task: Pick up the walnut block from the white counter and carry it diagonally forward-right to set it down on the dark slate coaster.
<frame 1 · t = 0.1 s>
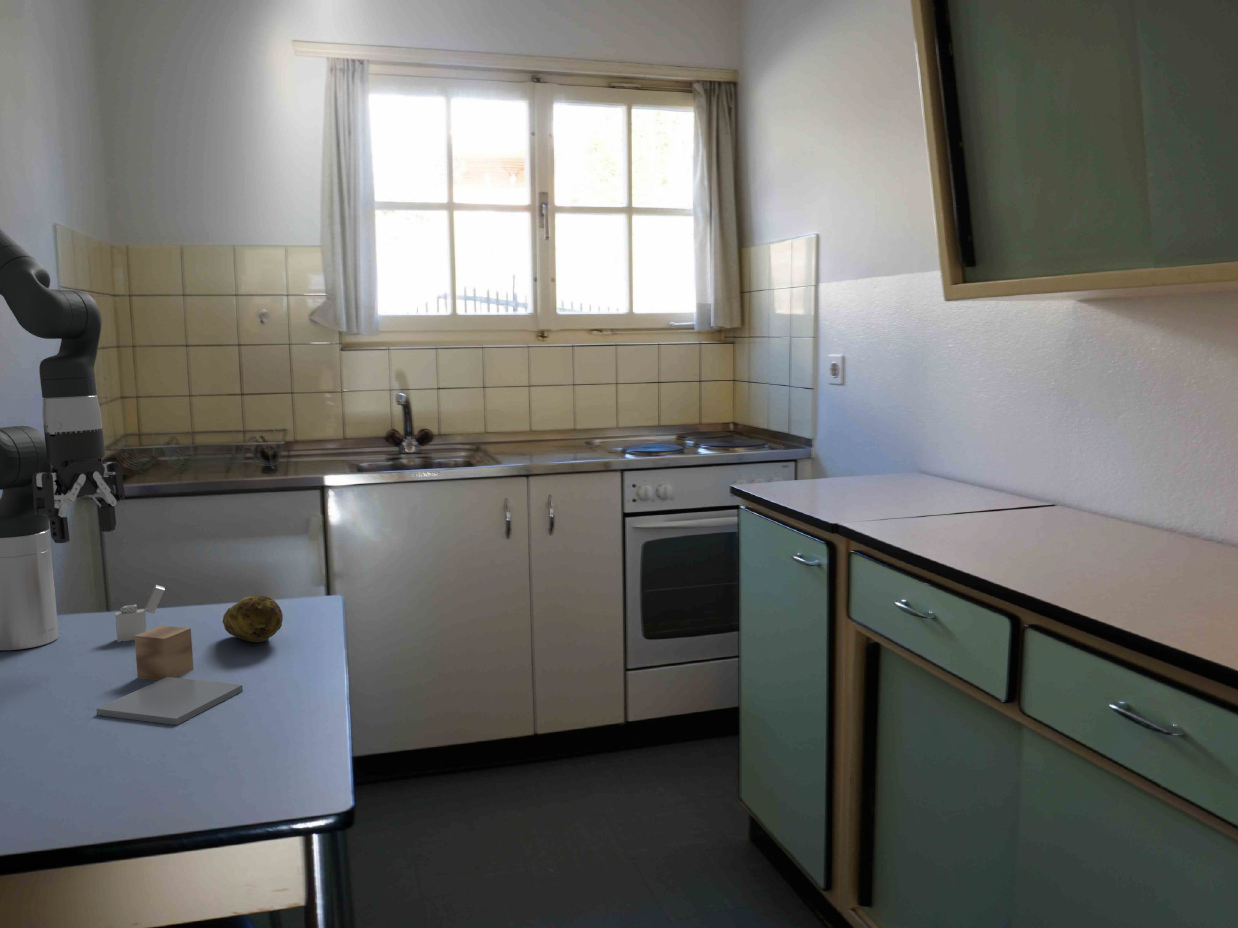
hand: (85, 536, 145), 17 cm above the table, tool pointing down, fingers open, 8 cm apart
coaster: (172, 702, 125), on the table
lighter: (142, 638, 153), on the table
block: (165, 673, 136), on the table
potato: (254, 644, 150), on the table
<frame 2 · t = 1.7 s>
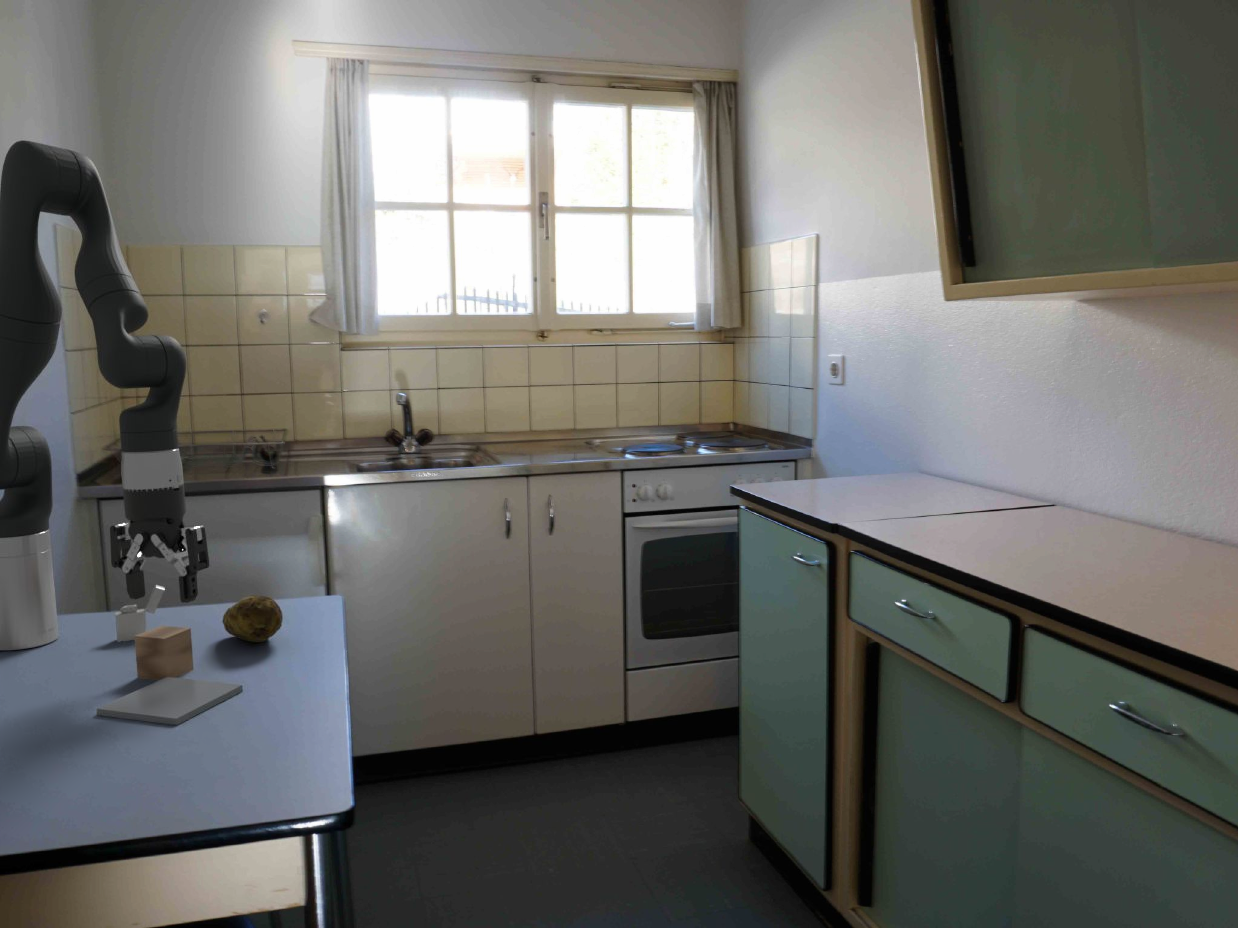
hand: (163, 599, 135), 10 cm above the table, tool pointing down, fingers open, 8 cm apart
nothing on the table moved.
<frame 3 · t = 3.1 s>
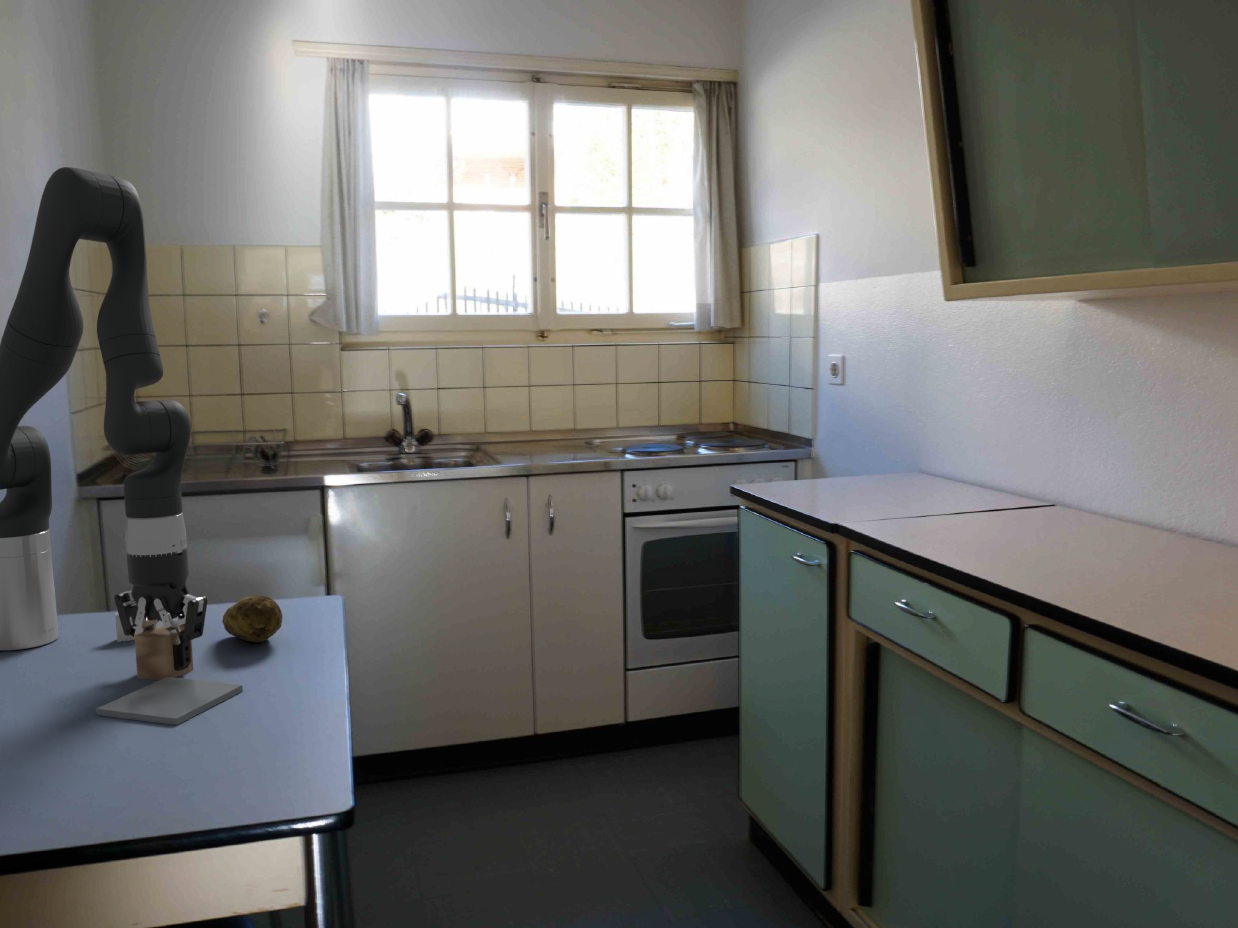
hand: (165, 666, 136), 1 cm above the table, tool pointing down, fingers closed on block, 5 cm apart
block: (165, 673, 136), on the table, touching gripper
everything else where it was.
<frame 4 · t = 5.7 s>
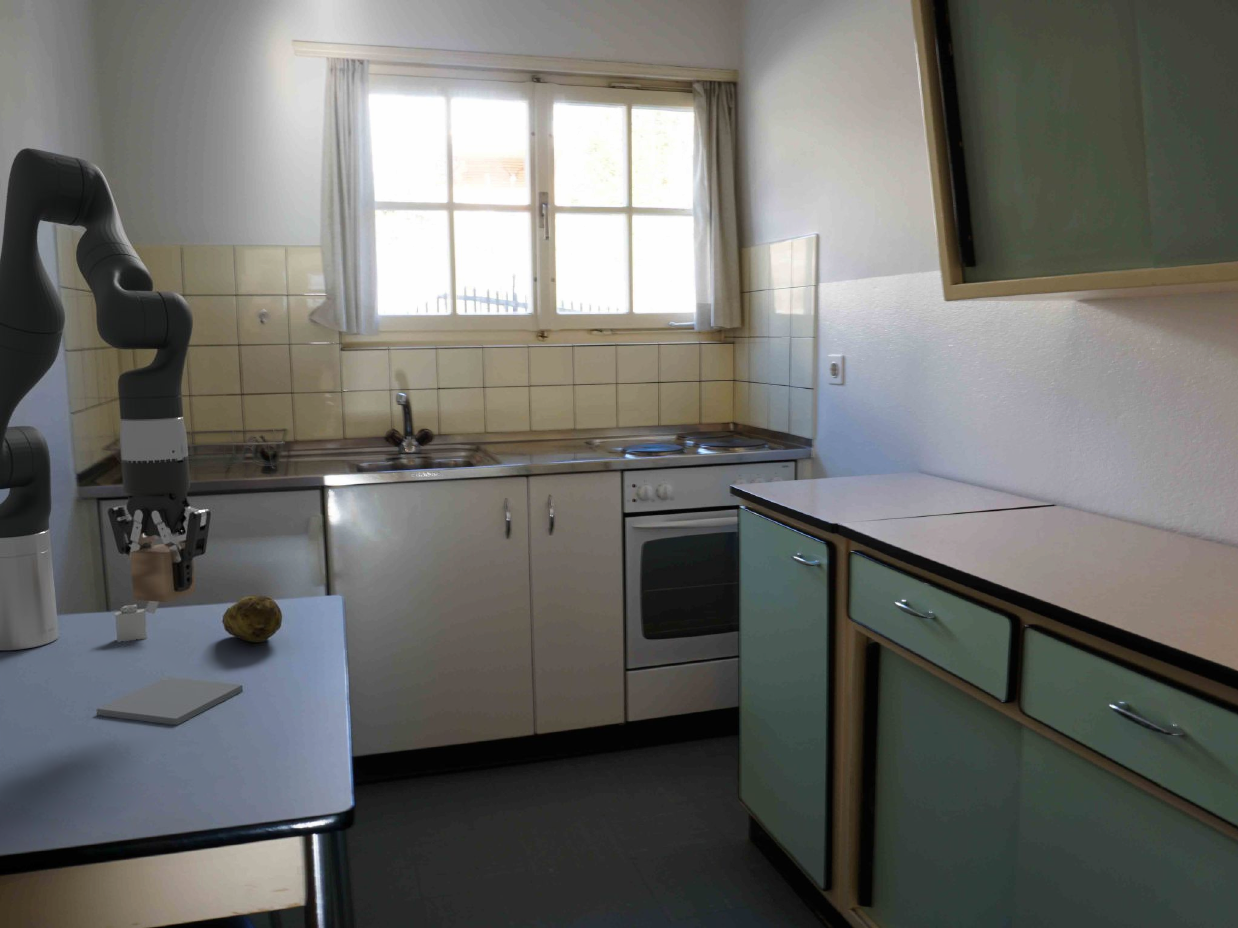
hand: (164, 588, 123), 15 cm above the table, tool pointing down, fingers closed on block, 5 cm apart
block: (164, 595, 123), point 14 cm above the table, touching gripper
everything else where it was.
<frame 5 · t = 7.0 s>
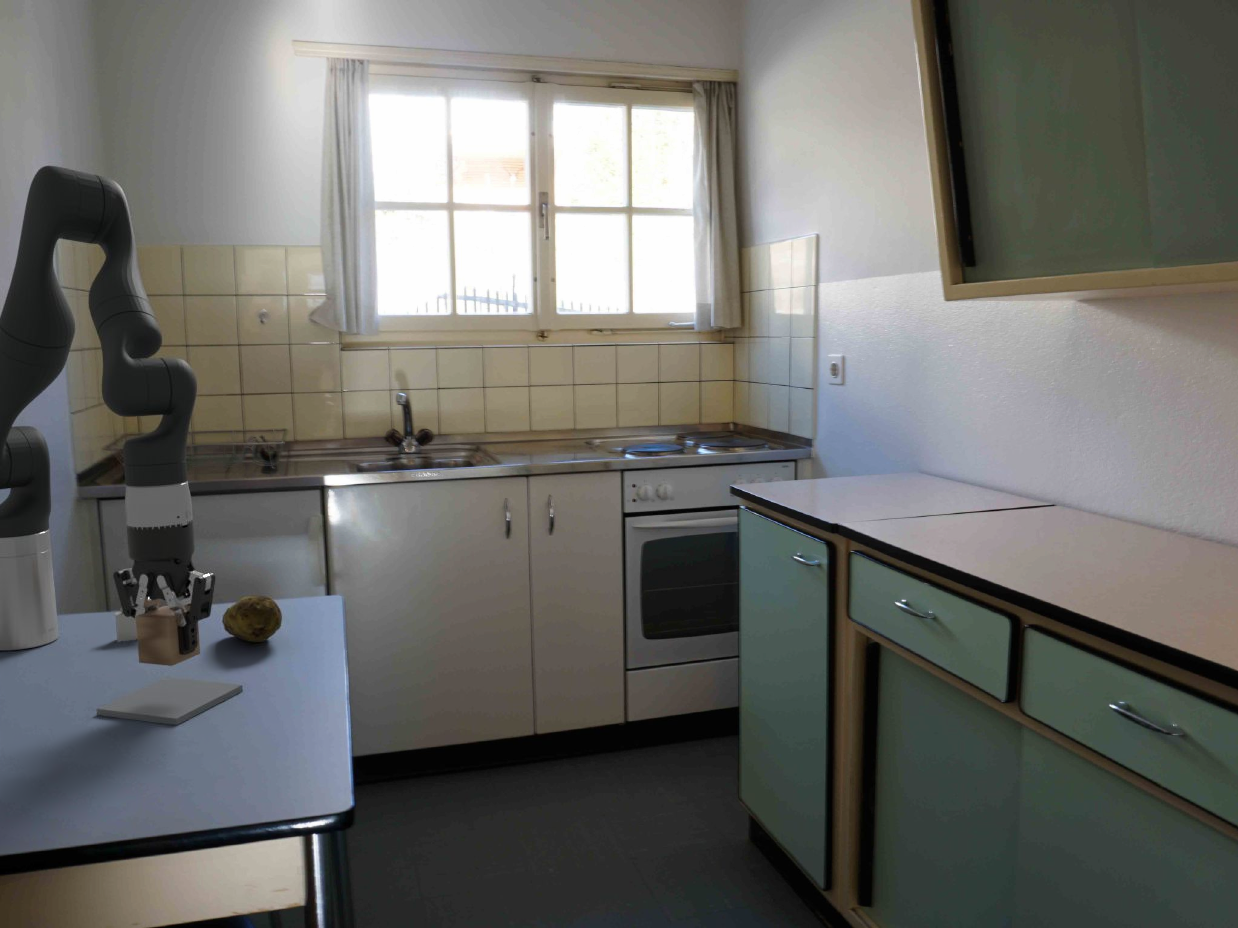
hand: (169, 650, 124), 7 cm above the table, tool pointing down, fingers closed on block, 5 cm apart
block: (170, 658, 124), point 6 cm above the table, touching gripper
everything else where it was.
when the fingers open (3 cm above the table, at t = 8.3 s): block stays where it is, resting on coaster.
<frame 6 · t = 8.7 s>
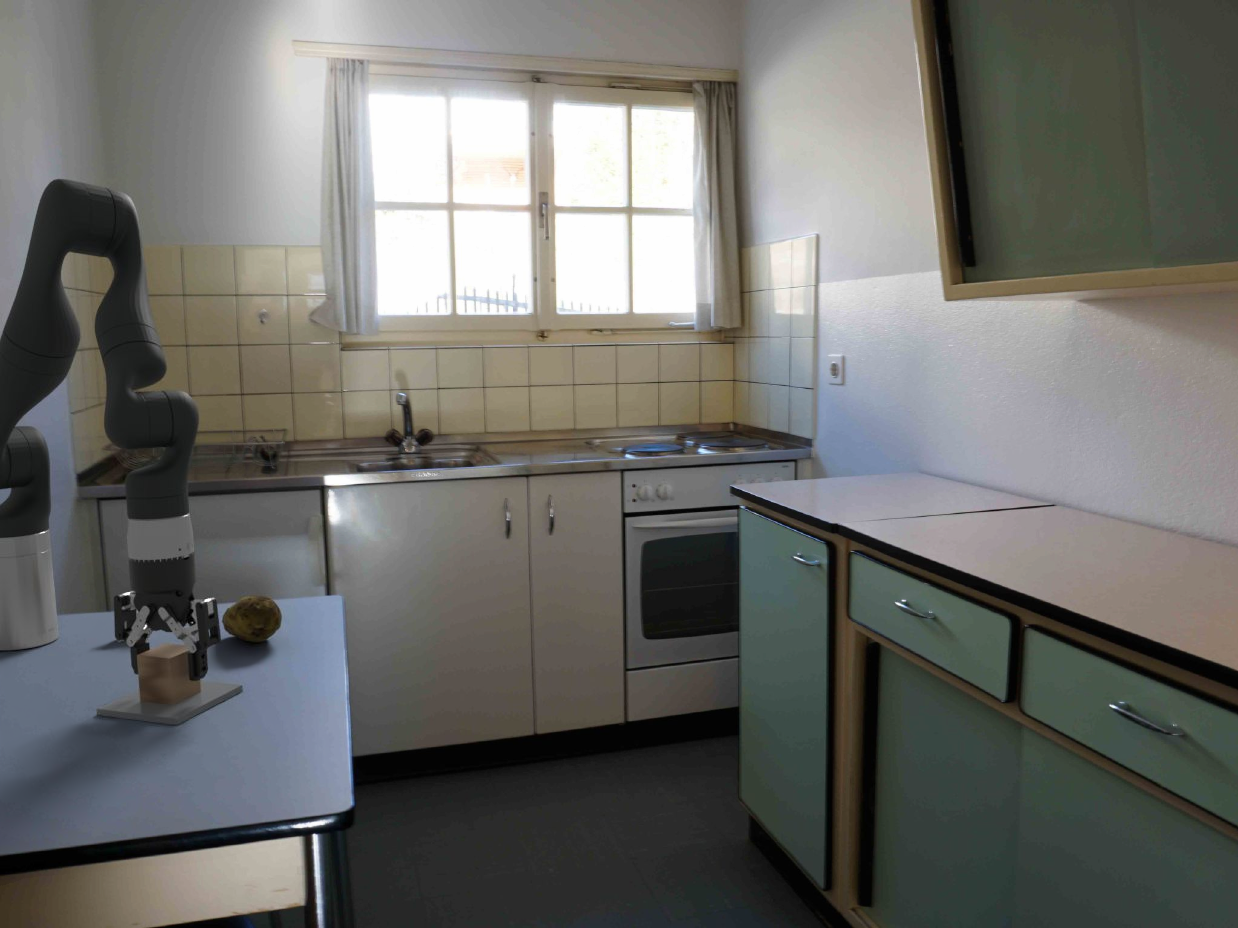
hand: (170, 675, 125), 4 cm above the table, tool pointing down, fingers open, 8 cm apart
block: (171, 696, 125), point 1 cm above the table, touching coaster
everything else where it was.
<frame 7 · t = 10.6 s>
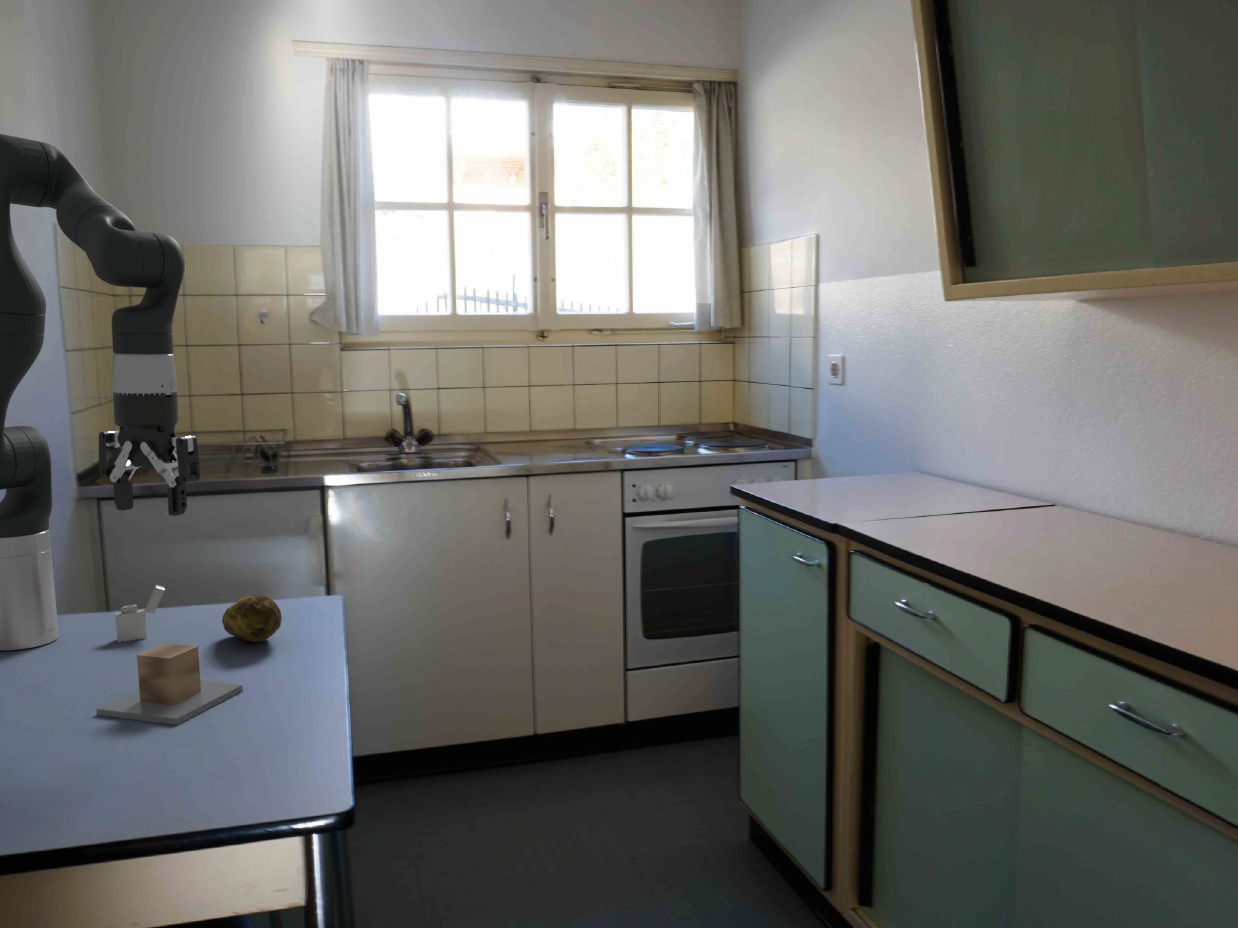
hand: (150, 512, 129), 23 cm above the table, tool pointing down, fingers open, 8 cm apart
nothing on the table moved.
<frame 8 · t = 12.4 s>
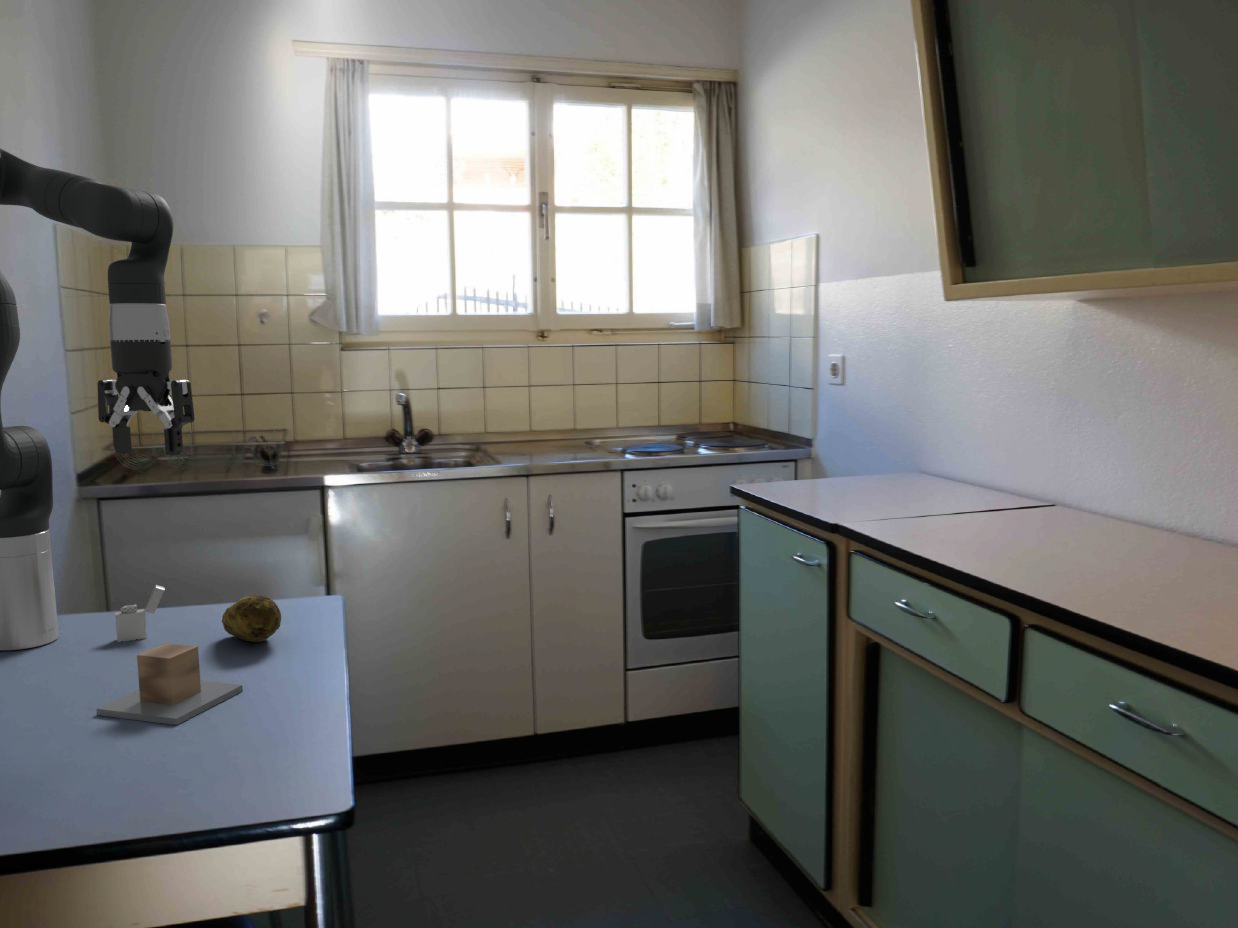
hand: (148, 454, 137), 30 cm above the table, tool pointing down, fingers open, 8 cm apart
nothing on the table moved.
at the end: block inside the target area on the coaster (0.1 cm from its centre), point 0.8 cm above the coaster's base; block tilted 0°; the gripper is holding nothing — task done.
